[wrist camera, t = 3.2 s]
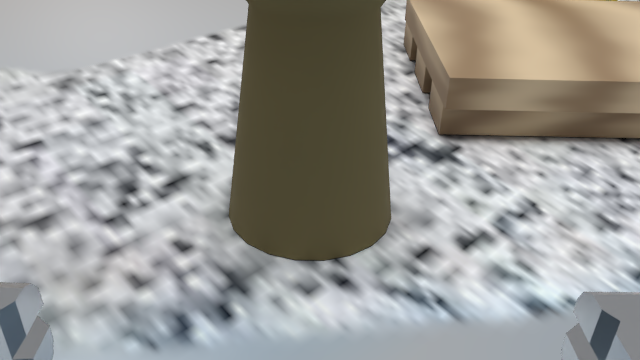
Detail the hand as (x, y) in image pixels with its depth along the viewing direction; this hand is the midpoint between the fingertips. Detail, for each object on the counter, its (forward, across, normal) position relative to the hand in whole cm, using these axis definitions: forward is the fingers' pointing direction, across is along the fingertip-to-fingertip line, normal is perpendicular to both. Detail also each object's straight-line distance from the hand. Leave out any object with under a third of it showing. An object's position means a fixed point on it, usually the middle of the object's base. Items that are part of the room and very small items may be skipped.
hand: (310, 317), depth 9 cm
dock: (+25, -14, +6) cm, 29 cm away
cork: (+12, 0, +6) cm, 14 cm away
